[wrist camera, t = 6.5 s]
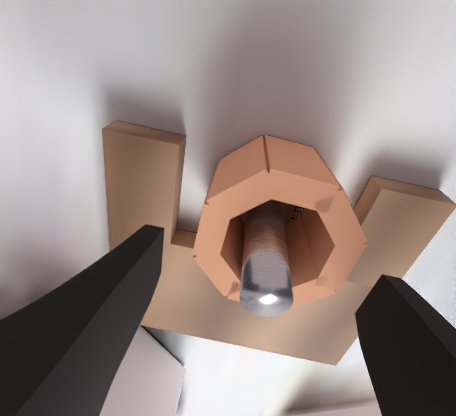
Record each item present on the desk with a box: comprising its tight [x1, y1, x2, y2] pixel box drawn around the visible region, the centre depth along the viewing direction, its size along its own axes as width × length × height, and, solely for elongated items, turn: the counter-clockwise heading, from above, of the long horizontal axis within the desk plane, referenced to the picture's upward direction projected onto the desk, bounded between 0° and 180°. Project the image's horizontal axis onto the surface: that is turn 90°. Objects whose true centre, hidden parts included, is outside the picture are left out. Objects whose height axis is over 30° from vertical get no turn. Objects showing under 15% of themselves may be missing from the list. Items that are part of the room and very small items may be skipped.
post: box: [239, 199, 295, 317], centre depth 11 cm, size 3×3×6 cm
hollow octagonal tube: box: [192, 135, 367, 309], centre depth 11 cm, size 5×5×4 cm
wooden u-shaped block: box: [102, 121, 456, 366], centre depth 14 cm, size 14×12×1 cm
